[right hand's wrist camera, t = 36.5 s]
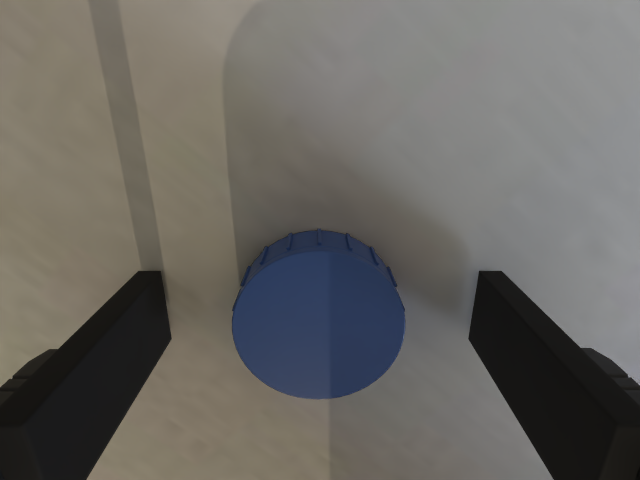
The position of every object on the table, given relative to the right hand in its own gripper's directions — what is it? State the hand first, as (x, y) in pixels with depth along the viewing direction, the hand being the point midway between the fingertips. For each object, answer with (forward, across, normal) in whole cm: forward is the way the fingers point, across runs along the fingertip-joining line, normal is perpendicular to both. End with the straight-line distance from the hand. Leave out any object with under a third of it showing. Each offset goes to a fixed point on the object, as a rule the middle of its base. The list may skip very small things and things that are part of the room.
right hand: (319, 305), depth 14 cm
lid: (-1, 0, 0) cm, 1 cm away
